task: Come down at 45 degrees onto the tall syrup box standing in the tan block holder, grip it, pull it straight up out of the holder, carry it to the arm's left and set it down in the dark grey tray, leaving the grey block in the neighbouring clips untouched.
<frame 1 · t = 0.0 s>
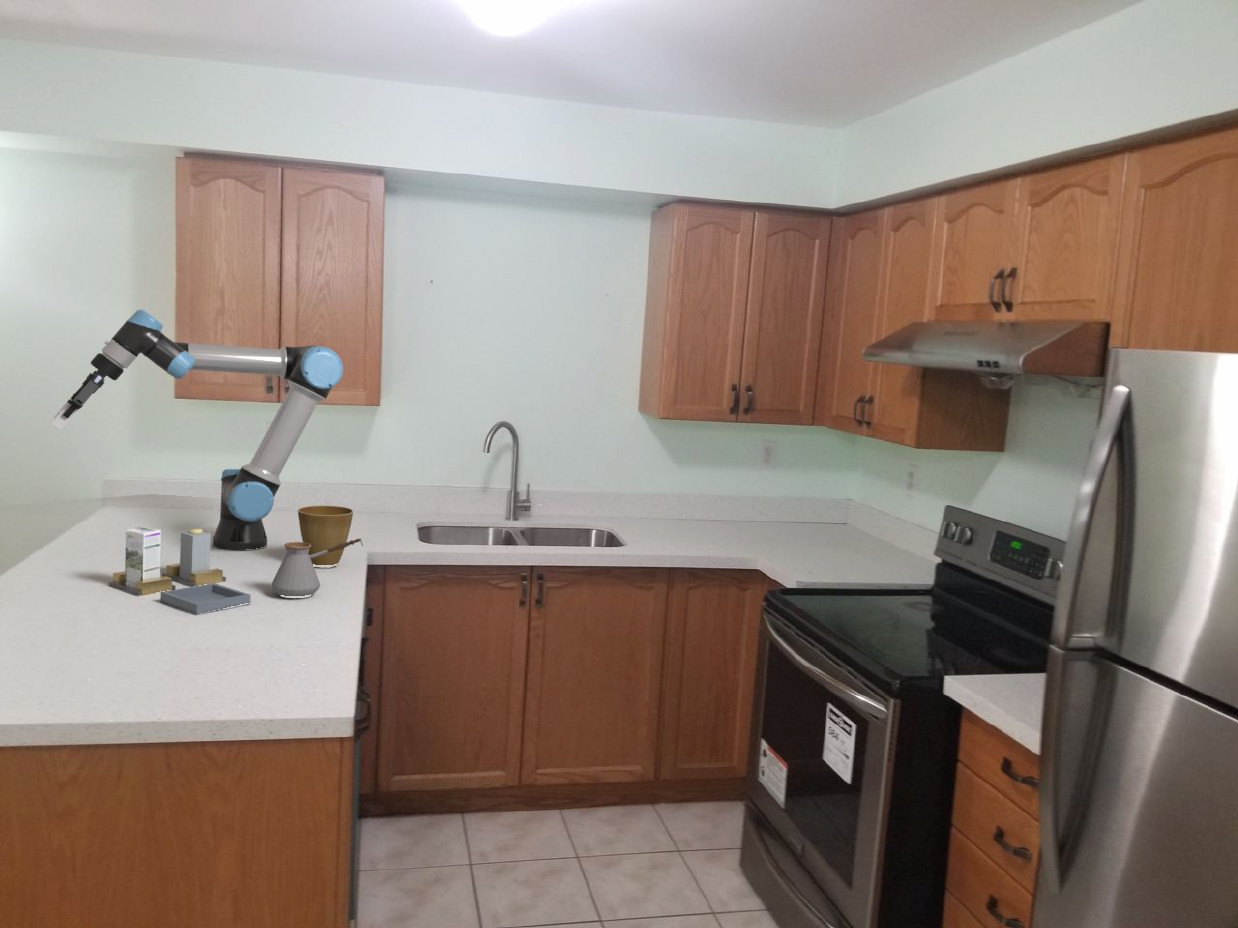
hand: (56, 424, 257), 36 cm above the worktop, tool tilted 35°, fingers open, 13 cm apart
tray: (205, 603, 232), on the worktop
tan block holder: (142, 587, 241), on the worktop
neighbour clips: (194, 579, 253), on the worktop
plant pot: (322, 566, 279), on the worktop
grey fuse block: (194, 579, 253), resting in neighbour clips
coffee pot: (316, 596, 247), on the worktop
syrup box: (142, 588, 241), resting in tan block holder
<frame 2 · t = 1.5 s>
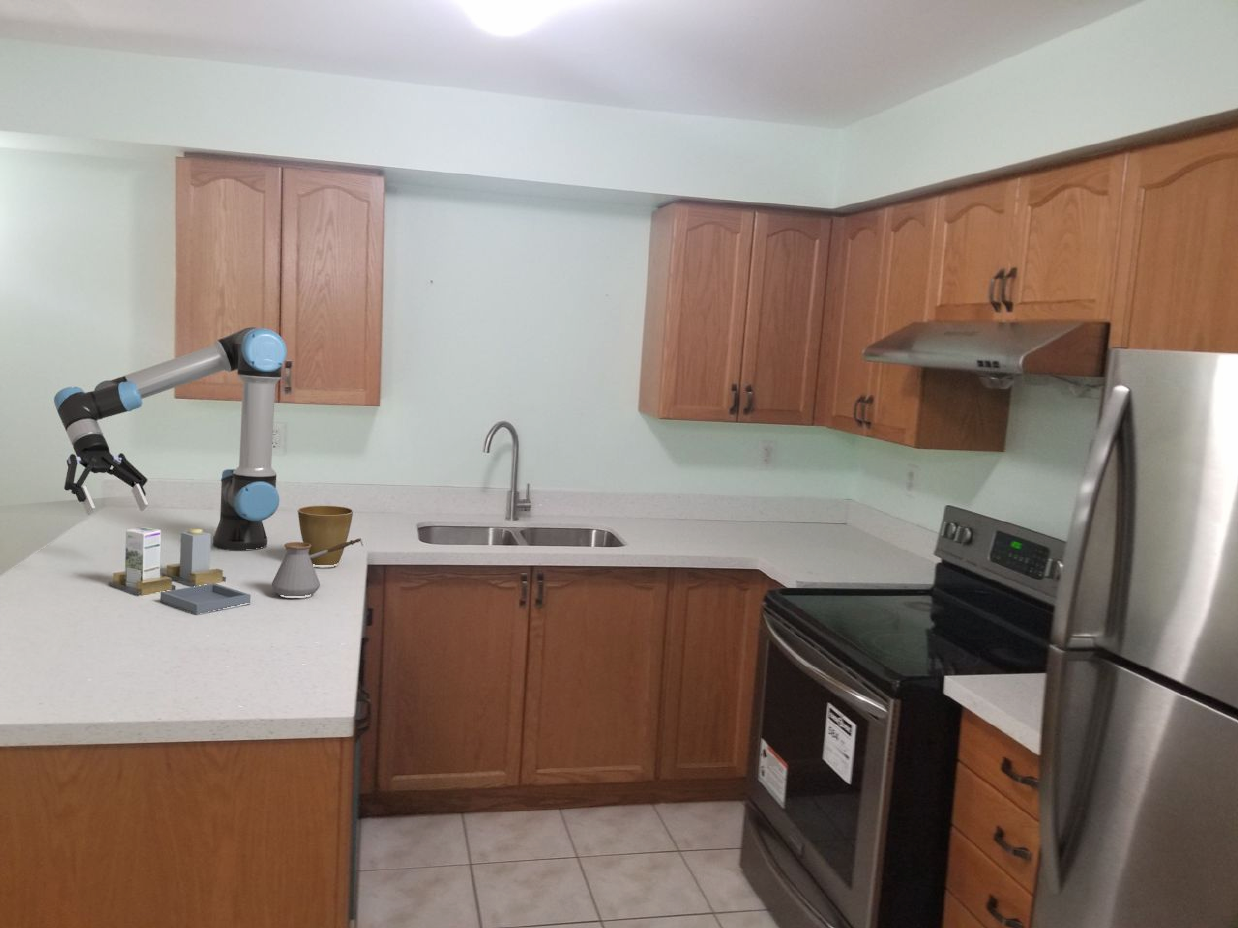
hand: (118, 509, 245), 18 cm above the worktop, tool tilted 45°, fingers open, 13 cm apart
nothing on the worktop moved.
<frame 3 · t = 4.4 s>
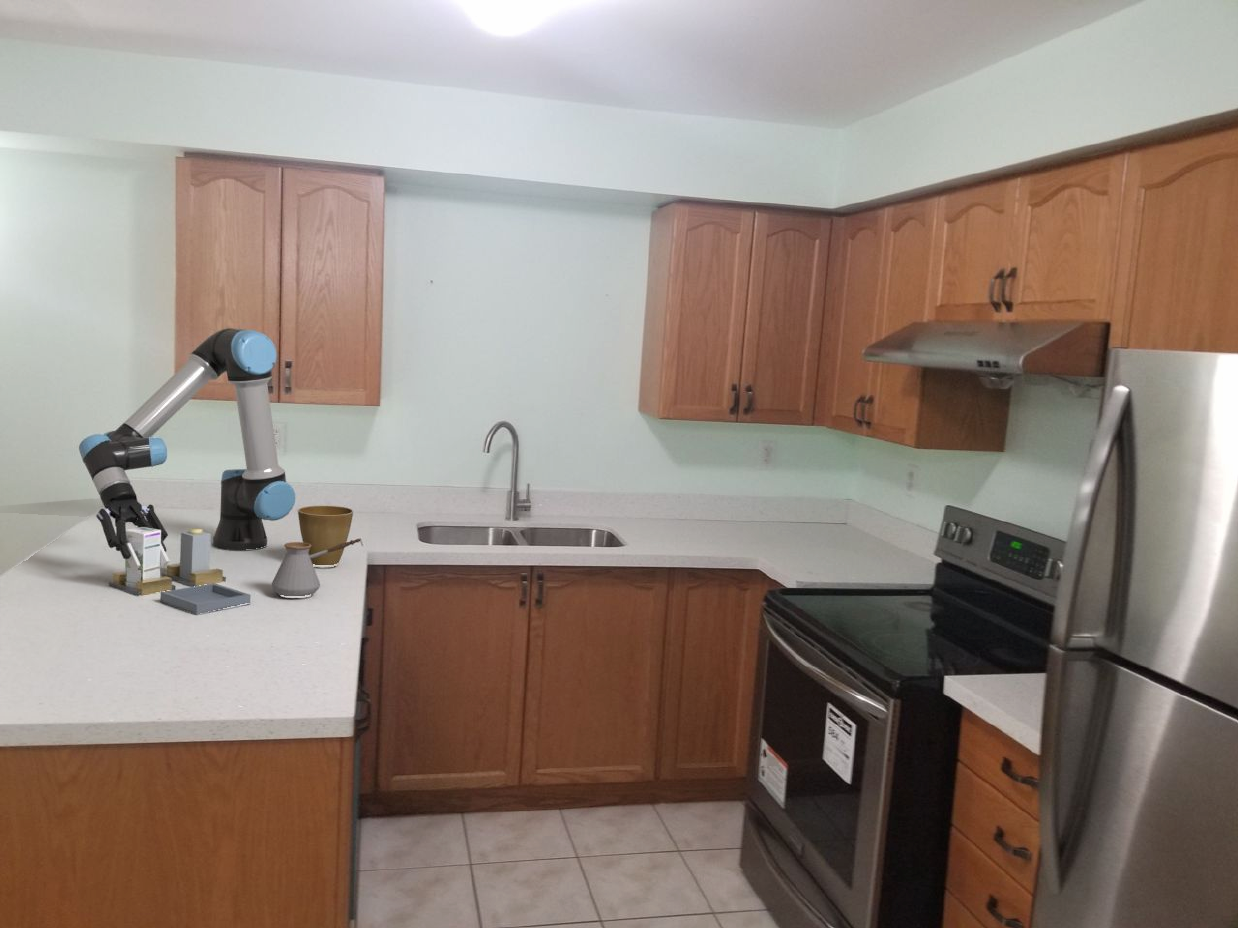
hand: (151, 566, 239), 6 cm above the worktop, tool tilted 45°, fingers closed on syrup box, 7 cm apart
syrup box: (142, 588, 241), resting in tan block holder, touching gripper
everything else where it was.
when the fingers open (8 cm above the worktop, at t = 10.2 s): syrup box drops 1 cm, resting on tray.
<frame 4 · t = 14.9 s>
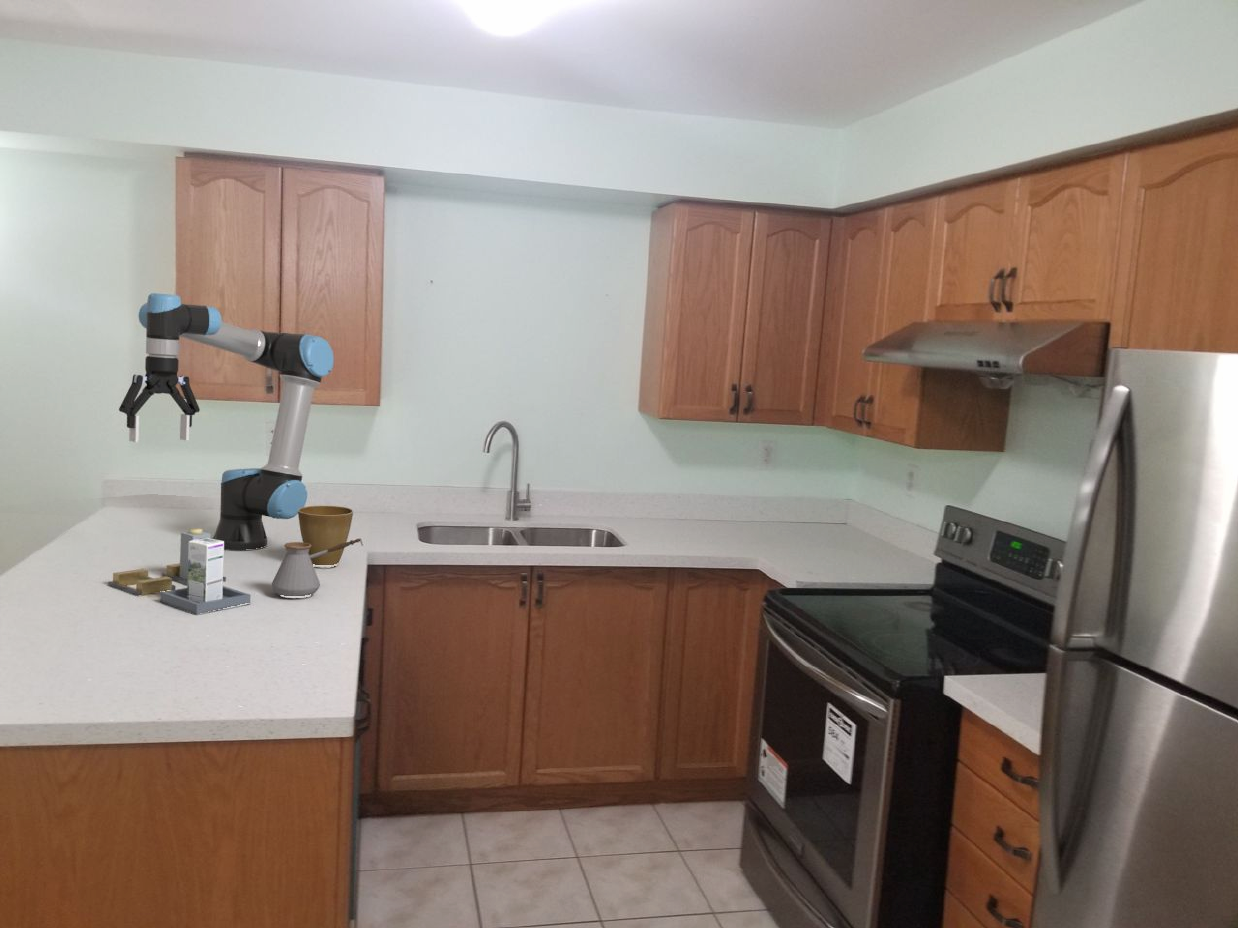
hand: (159, 440, 250), 35 cm above the worktop, tool pointing down, fingers open, 13 cm apart
syrup box: (204, 601, 232), resting on tray
everything else where it was.
at the end: syrup box inside the target area on the tray (0.2 cm from its centre), point 0.4 cm above the tray's base; syrup box tilted 0°; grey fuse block moved 0.0 cm from its start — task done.
